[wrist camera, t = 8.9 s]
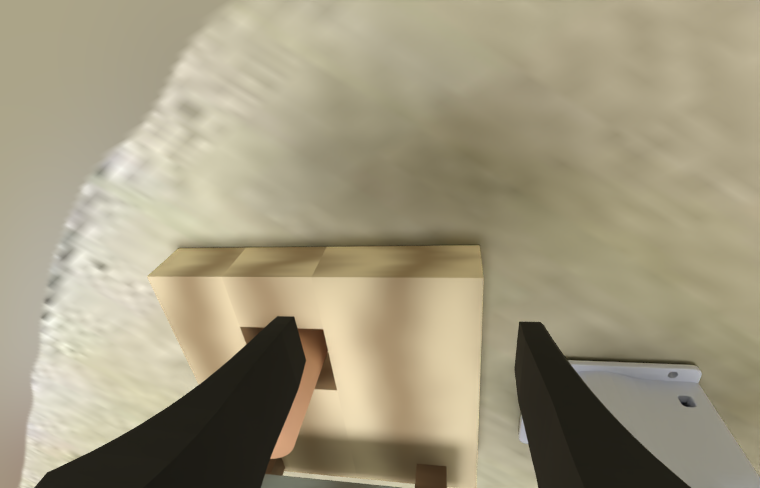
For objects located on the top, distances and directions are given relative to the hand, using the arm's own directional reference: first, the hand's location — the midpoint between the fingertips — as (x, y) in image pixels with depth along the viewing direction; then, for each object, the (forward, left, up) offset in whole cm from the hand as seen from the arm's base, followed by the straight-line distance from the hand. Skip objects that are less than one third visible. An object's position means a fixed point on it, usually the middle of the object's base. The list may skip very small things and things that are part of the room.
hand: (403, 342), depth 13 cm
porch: (+6, +11, -9) cm, 16 cm away
